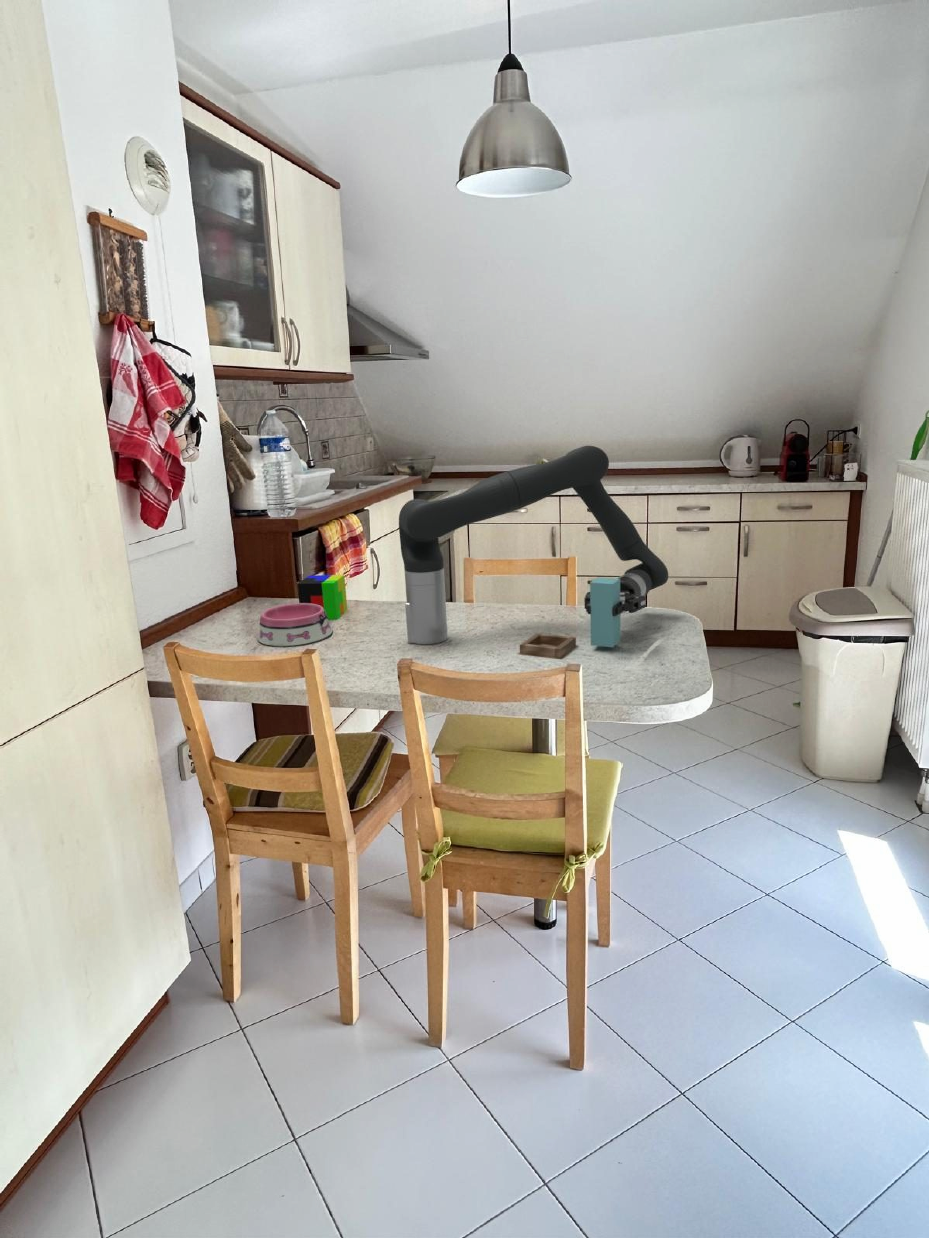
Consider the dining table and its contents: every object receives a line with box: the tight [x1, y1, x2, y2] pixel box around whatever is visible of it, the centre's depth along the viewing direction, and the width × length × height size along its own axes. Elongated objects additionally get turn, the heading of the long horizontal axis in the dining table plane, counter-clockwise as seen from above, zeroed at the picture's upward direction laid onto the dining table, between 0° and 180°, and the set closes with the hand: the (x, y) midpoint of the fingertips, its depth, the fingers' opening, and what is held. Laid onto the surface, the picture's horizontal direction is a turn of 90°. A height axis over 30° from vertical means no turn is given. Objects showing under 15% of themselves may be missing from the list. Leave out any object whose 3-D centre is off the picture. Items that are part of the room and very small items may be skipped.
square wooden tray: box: [517, 632, 579, 660], centre depth 182 cm, size 10×10×3 cm
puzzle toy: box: [296, 574, 348, 621], centre depth 224 cm, size 10×10×10 cm
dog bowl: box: [256, 602, 334, 648], centre depth 205 cm, size 18×19×7 cm
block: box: [589, 577, 621, 648], centre depth 179 cm, size 5×5×14 cm
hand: (601, 610), depth 177 cm, fingers closed on block, 5 cm apart
